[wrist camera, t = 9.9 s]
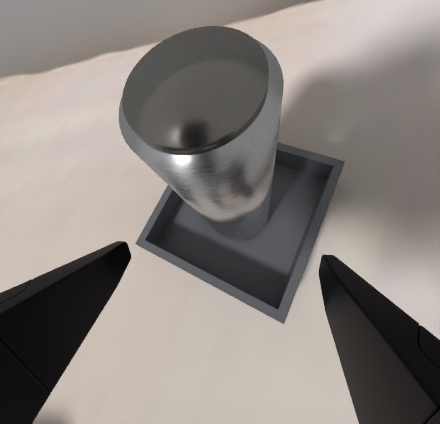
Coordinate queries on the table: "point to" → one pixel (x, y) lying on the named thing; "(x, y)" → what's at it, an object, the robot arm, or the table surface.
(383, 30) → the table surface
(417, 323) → the robot arm
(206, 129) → the cup
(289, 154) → the bin
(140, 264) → the table surface
